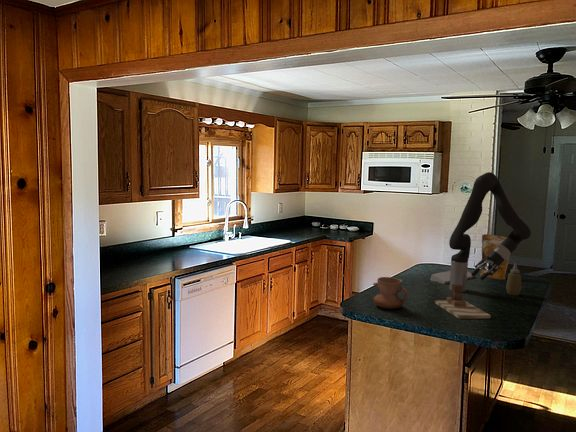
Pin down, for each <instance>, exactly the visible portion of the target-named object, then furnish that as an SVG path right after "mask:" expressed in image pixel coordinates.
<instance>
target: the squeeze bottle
mask: <svg viewBox="0 0 576 432" xmlns="http://www.w3.org/2000/svg"><path fill="white" fill-rule="evenodd" d="M505 288H506V293H507V294H508V295H510V296H519V295H520V293H521V291H522V275H521V273H520V269H518V263H516V262H515V263H514V264H513V267H512V268H510V272H508V275H507V281H506V285H505Z"/></svg>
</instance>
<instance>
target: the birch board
mask: <svg viewBox="0 0 576 432" xmlns="http://www.w3.org/2000/svg"><path fill="white" fill-rule="evenodd" d="M446 300H447V299H442V300H441V299H437V300H436V299H435V300H434V303H435V304H436V305H437V306H438V307H440V308H442V309H443V310H445V311H446V312H448V313H449V314H451V315H452V316H454V317H456V318H457V319H459V320H461V319H462V320H466V319H473V320H474V319H491V316H492V315H491V314H489V313H487V312H486V311H484V310H483V309H481V308H479V307H477V306H475V305H473V304H471V303H470V302H469V301H466V307H454V306H453V305H451V304H449V303H448V302H446Z"/></svg>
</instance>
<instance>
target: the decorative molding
mask: <svg viewBox="0 0 576 432" xmlns="http://www.w3.org/2000/svg"><path fill="white" fill-rule="evenodd" d="M450 272H451V270H448V271H442V272H436V273H432V274H431V276H430V280H431V281H430V282H436V283H439V284H442V285H445V284H450ZM471 273H472V272H470V271H468V270H467V280H468V279H473V278H475V277H476V275H475V276H474V277H473V276H472V275H471Z"/></svg>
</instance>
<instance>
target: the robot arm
mask: <svg viewBox="0 0 576 432" xmlns="http://www.w3.org/2000/svg"><path fill="white" fill-rule="evenodd" d="M489 193H491V194H492V195H493V198H494V199H495V202H496V206H497V207H496V208H497V211H498V212H499V215H500V216H501V218H502V220H503V221H504V223H505V224H506V225H507V226H509V227H511V229H512V230H511V232H510V233H509V234H508V236H506V237H507V238H506V239H505V240H504V241H503V242H502V243H501V244H500V245H499V246H497V247H496V248H495V249H494V250H493V251H492V252H491V253H490V254H489V255H488V256H487V260H486V261H484V260H483V259H482V258H481V259H480V261H479V262H478V263H476V264H475V265H474V268H475V269H474V270H472V272H470V273H471V275H472V276H473V277H474V276H475V277H476V276H477V275H478V274H479V272H481V271H484V270H486V271H485V273H483V274H482V275H480V276H479V279H480V281H484V280H485V279H486V278H488V277H487V276H489V275H491V276H492V275H493V274H494V273H495V272H496V271H497V270H498V269H499V267H498V266H500V265H501V264H502V263H503V262H504V261H505V260H506V259H507V258H508V257H509V255H510V256H511V255H512V254H513V253H514V252H515V250H517V248H518V245H519V244H520V243H522V241H524V240H528V239H529V238H530V237H531V236H532V233H531V229H530V227H529V226H528V225H527V224H526V222H525V221H524V220H522V218H520V216H519V215H518V213H517V212H516V210H515V209H514V208H513V206H512V205H511V202H510V201H509V198H508V197H507V196H506V193H505V191H504V189H503V187H502V184H501V183H500V180H499V178H498V177H497V175H496V174H495V173H493V172H485V173H483V174H481V175H479V176H478V177H476V179H475V180H474V183H473V187H472V189H471V193H470V196H469V198H468V200H467V202H466V205H465V206H464V209H463V210H462V213H461V217H460V218H459V220H458V222H457V225H456V226H455V228H454V230H453V232H452V234H451V235H450V238H449V240H448V245H449V248H450V249H452V250H456V251H457V250H458V252H457V253H455V254H453V255H451V259H450V260H451V262H450V271H451V272H450V283H449V287H448V289H449V290H450V291H452V284H460V285H462V293H463V292H464V293H465V292H466V291H467V280H468V279H467V271H468V266H469V258H470V255H471V254H470V253H471V244H472V241H471V239H472V238H471V236H470V235H469V234H467V233H466V232H467V231H468V230H470V229H471V228H472V227H474V226H475V225H476V224H477V223H478V221H479V220H480V218H481V216H482V213H483V202H484V200H485V198H486V196H487V195H488V194H489ZM509 258H510V257H509ZM492 271H493V272H492ZM475 277H474V278H475Z"/></svg>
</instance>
